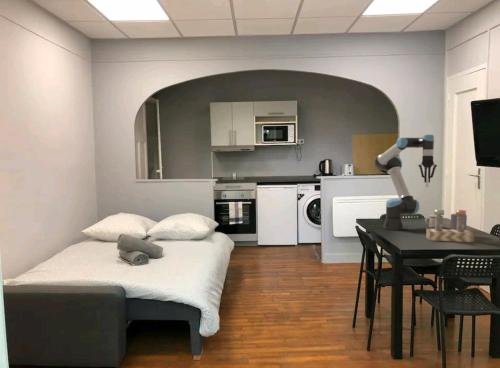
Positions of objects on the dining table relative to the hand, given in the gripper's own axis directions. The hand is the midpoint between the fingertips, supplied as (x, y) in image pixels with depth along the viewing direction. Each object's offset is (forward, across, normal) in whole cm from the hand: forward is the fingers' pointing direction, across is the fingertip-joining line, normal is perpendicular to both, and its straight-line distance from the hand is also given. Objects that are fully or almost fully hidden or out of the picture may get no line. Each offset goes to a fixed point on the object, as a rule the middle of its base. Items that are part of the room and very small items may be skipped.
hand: (427, 186), depth 324 cm
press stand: (+34, +11, -25) cm, 44 cm away
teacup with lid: (+35, +10, +25) cm, 44 cm away
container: (+35, +21, -7) cm, 41 cm away
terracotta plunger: (+28, +18, -25) cm, 42 cm away
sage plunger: (+28, +4, -25) cm, 38 cm away
